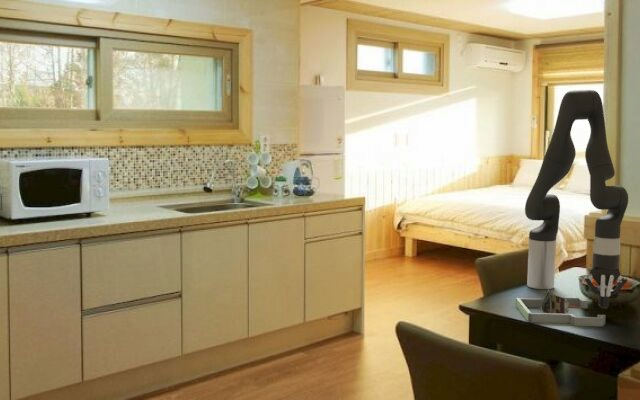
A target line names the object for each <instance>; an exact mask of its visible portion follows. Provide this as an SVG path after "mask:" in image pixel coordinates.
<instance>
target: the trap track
mask: <svg viewBox="0 0 640 400" xmlns="http://www.w3.org/2000/svg"><path fill="white" fill-rule="evenodd" d="M562 298H565V299H566V301H567V302H569V304H568V306H567V308H580V309H588V304H589V301H588V300H587V299H583V297H581V298H580V297H564V296H563V297H562ZM542 300H543V298H531V297H529V298H528V297H526V298H525V297H524V298H523V297H522V298H521V297H516V298H515V307H516V308H517V310H518V311H519V312H520V314H521V315H522V316H523V317H524V319H526V321H527V323H549V324H550V323H551V324H552V323H554V324H555V323H556V324H570V325H571V326H578V327H604V326H605V324H606V314H597V316H596V317H595V316H575V314H574V313H568V314H555V313H543V312H531V310H529V309H528V307H529V308H540V306H541V303H542Z"/></svg>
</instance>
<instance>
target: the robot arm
mask: <svg viewBox="0 0 640 400" xmlns="http://www.w3.org/2000/svg"><path fill="white" fill-rule="evenodd" d="M604 113H605V112H604V105H603V101H602V98H601V95H600V94H599V92H598V91H596V90H593V89H575V90H569V91H567V92H565V94H564V95H563V97H562V99H561V102H560V105H559V109H558V114H557V118H556V121H555V125H554V129H553V133H552V135H551V139H550V142H549V144H548V147H547V149H546V150H545V151H546V152H545V154H544V157H543V160H542V164H541V167H540V169H539V172H538V174H537V178H536V180H535V181H534V184H533V186H532V188H531V189H530V192H529V194H528V196H527V197H526V202H525V207H524V214H525V216H526V218H527V219H529V220H530V221H542V223H541V224H540V225H539V226H537V227H535V228H532V229H530V231H529V234H528V235H529V236H528V256H527V277H526V278H527V279H526V280H527V282H526V285H527V287H528V288H531V289H537V290H548V288H549V290H552V289H554V288H555V278H556V277H555V276H556V275H555V274H556V272H555V271H556V256H557V255H556V253H557V252H556V251H557V235H558V232H559V221H560V213H561V212H560V211H561V203H560V199H559V198H558V195H556V194H553V193H552V194H549V191H550V190H551V189H552V188H553V187H555V186H556V185H557V184H558V183H559V182H561V181H562V180H563V179H564V178H566V176H567V175H568V174H569V172H570V171H571V169H572V166H573V163H574V161H575V158H576V147H575V145H574V141H573V138H572V135H571V132H572V128H573V124H574V123H575V121H578V120H583V121H584V120H587V121H588V124H589V126H590V127H589V128H590V134H589V135H590V136H589V139H588V141H587V145H586V148H585V155H584V156H585V157H584V158H585V162H586V166H587V170H588V174H589V178H590V179H589V181H590V182H589V185H590V186H589V198H590V203H591V204H592V205H593V207H594V208H595V209H597V210H601V211H602V210H603V211H604V210H607V212H606V214H605V215H602V216H599V217H598V218H597V219H595V223H594V224H595V225H594V227H595V228H594V239H593V246H592V263H591V264H592V265H591V266H592V267H591V270H590V273H589V274H588V275H587V276H585V275H584V276H583V277H582V280H583V281H584V283H585V284H586V285H587V286H588V288H589V289H590V291H591V292H592V293H594V294H595V295H598V298H597V299H598V300H597V301H598V302H597V305H598V306H599V307H600V308H601V309H608V307H610V299H611V298H610V297H611V296H614V295H615V296H616V295H617V293H619V291H621V290H622V288H623V287H624V286H625V285H626V284H627V283H628V279H627V278H625V277H623V276H622V275H621V271H620V260H621V227H622V226H621V225H622V222H623V220H624V216H625V213H626V211H627V207H628V204H629V194H628V191H627V189H626V188H625V187H624V186H622V185H621V186H620V185H607V183H606V181H609V180H611V179H613V178H614V176H615V175H616V172H615V167H614V165H613V161H612V157H611V154H610V151H609V147H608V140H607V131H606V121H605V114H604ZM594 281H595V283H596V284H597V285H596V286H597V287H596V286H595V285H594V284H593V282H594ZM615 282H616V283H615ZM614 283H615V284H614Z"/></svg>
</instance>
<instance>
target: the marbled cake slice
mask: <svg viewBox="0 0 640 400" xmlns="http://www.w3.org/2000/svg"><path fill="white" fill-rule="evenodd" d="M546 290H547V291H546V293H545V294H544V297H543V298H542V299H543V300H542V303H541V306H540V307H539V310H540V311H541V313H555V314H569V309H568V307H567V306H568V304H569V302H567V301H566V299H565V298H562V297H561V296H558V295H555V294H553V293H551V291H550V289H549V288H548V289H546Z"/></svg>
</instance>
